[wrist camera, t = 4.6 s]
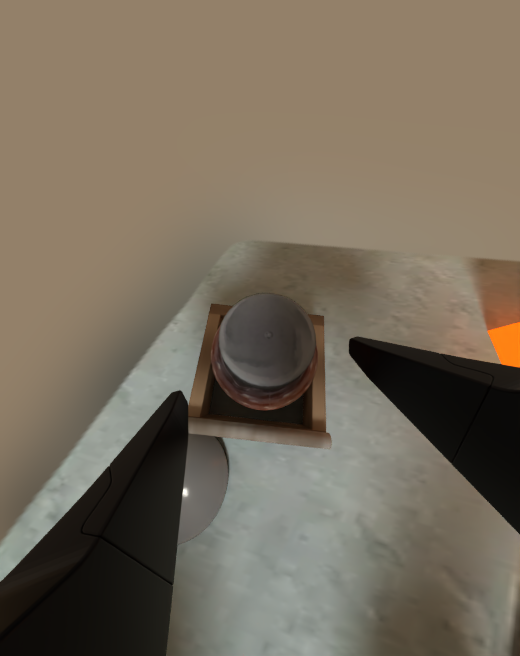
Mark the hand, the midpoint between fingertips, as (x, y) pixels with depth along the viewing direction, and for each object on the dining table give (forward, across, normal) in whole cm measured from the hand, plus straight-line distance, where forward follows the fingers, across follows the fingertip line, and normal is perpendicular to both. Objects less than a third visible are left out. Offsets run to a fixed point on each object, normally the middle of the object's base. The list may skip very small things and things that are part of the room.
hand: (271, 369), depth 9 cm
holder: (+7, 0, +6) cm, 9 cm away
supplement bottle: (+7, 0, +6) cm, 9 cm away
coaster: (+2, +8, +10) cm, 13 cm away
